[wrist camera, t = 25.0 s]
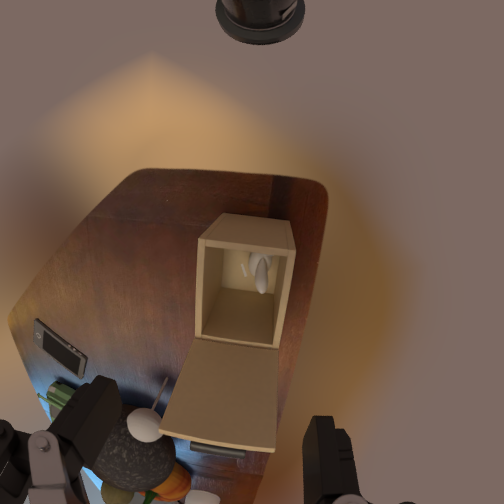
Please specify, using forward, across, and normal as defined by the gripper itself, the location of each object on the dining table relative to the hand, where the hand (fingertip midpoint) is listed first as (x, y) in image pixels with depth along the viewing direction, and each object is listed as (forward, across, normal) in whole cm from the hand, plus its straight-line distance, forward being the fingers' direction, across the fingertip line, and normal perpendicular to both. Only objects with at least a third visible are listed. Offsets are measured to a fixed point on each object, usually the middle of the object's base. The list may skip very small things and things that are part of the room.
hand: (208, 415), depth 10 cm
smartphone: (+30, +40, +31) cm, 58 cm away
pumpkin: (+30, +19, +68) cm, 76 cm away
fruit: (+29, +36, +90) cm, 101 cm away
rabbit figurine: (+25, +1, +4) cm, 25 cm away
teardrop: (+29, +7, +88) cm, 93 cm away
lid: (+11, 0, +9) cm, 14 cm away
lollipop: (+30, +13, +30) cm, 44 cm away
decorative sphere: (+30, +20, +44) cm, 57 cm away
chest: (+30, 0, +4) cm, 30 cm away
